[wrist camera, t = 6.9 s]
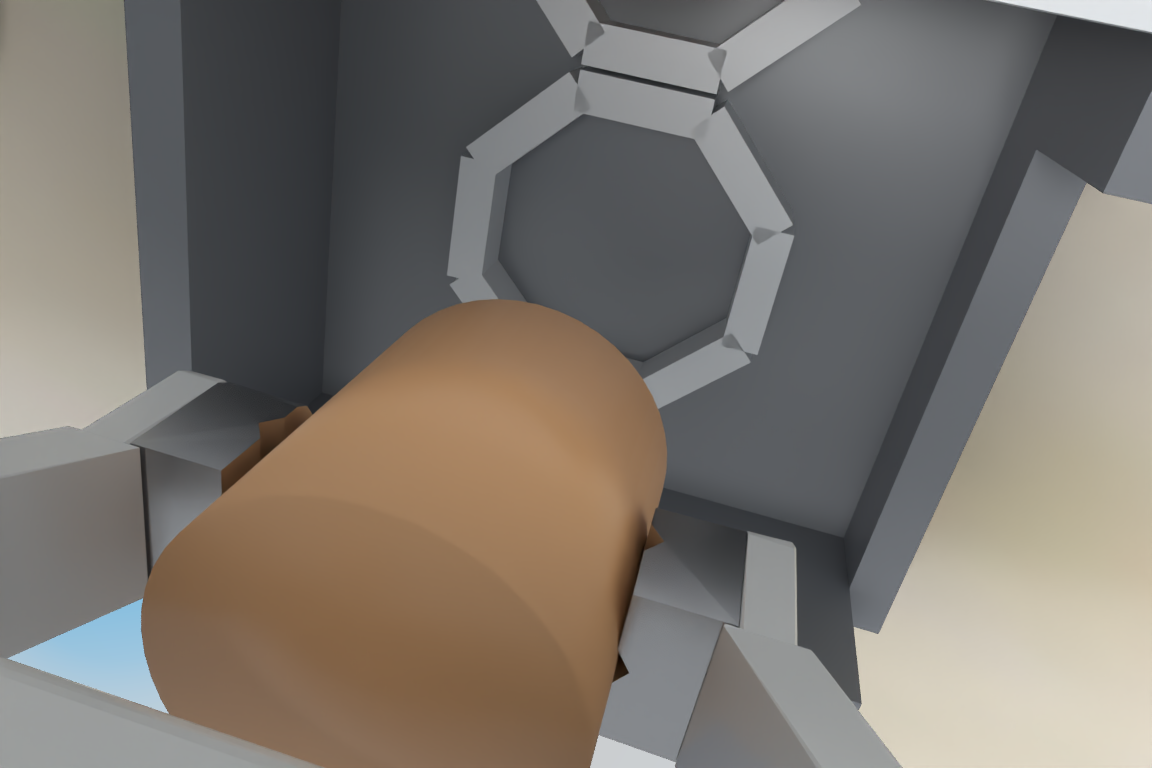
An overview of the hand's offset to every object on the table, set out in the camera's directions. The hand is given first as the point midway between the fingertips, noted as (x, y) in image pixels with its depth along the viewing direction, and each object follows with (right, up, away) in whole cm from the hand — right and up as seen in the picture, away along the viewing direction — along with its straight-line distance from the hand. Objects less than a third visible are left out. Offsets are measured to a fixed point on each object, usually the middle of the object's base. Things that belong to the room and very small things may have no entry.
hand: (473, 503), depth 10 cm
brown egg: (0, +1, +2) cm, 2 cm away
